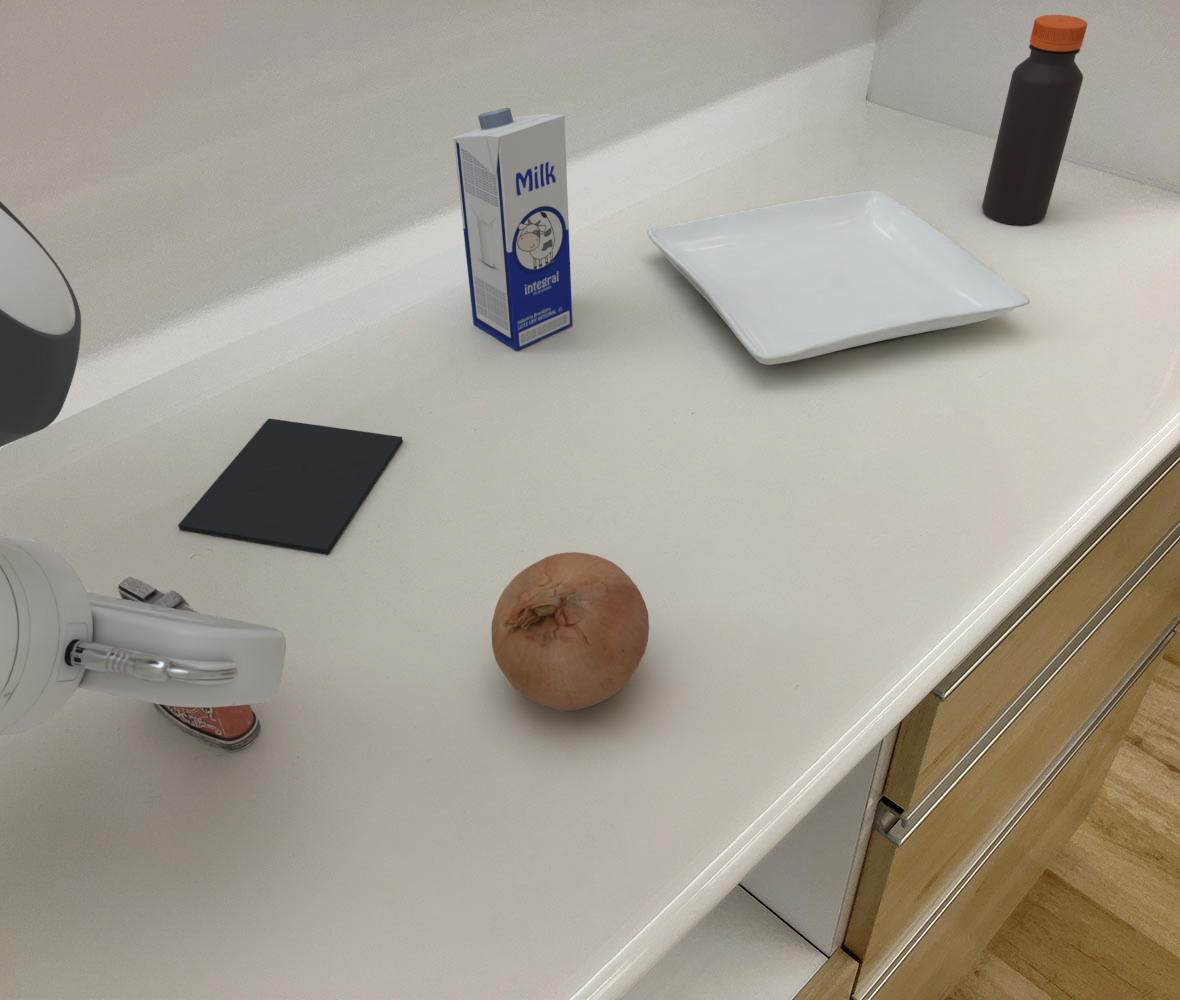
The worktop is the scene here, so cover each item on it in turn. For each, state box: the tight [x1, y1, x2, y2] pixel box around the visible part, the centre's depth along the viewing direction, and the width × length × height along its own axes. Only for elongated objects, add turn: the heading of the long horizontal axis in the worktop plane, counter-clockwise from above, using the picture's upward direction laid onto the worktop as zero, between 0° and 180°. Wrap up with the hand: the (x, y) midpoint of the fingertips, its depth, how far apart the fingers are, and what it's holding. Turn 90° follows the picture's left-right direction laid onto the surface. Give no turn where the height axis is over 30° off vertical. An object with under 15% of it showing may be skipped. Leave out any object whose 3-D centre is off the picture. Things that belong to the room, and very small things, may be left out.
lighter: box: [116, 575, 262, 753], centre depth 61 cm, size 8×3×10 cm, turn 57°
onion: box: [490, 551, 650, 711], centre depth 63 cm, size 10×9×10 cm
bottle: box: [981, 14, 1088, 226], centre depth 109 cm, size 7×7×20 cm
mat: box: [177, 418, 404, 555], centre depth 81 cm, size 12×14×1 cm
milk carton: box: [452, 107, 573, 352], centre depth 93 cm, size 7×7×20 cm
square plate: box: [646, 189, 1030, 366], centre depth 101 cm, size 27×27×4 cm
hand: (166, 630), depth 59 cm, fingers open, 8 cm apart
